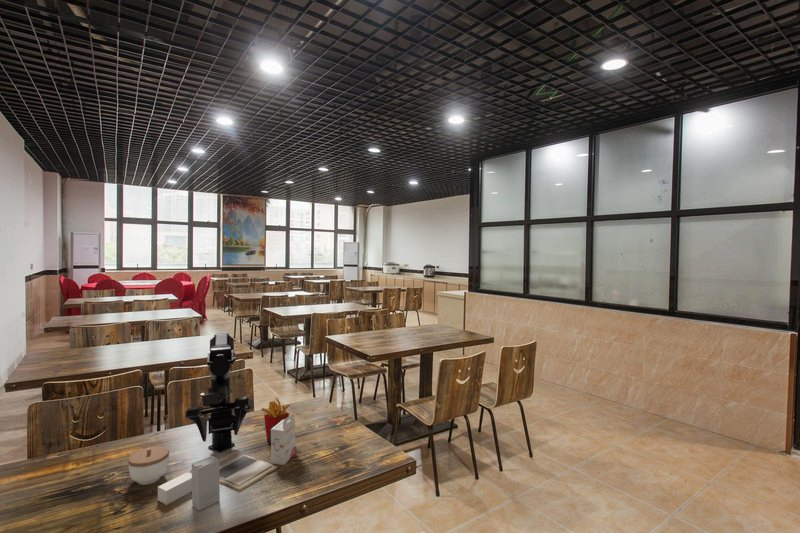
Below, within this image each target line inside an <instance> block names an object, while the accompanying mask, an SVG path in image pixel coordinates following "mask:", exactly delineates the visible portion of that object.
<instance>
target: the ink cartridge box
mask: <svg viewBox="0 0 800 533" xmlns="http://www.w3.org/2000/svg"><path fill="white" fill-rule="evenodd" d="M295 454H296V418H295V412H292V413H291V414H289V417H287V418H286V419H285V420H282V421H281V422H279V423H278V424H277V425H276V426H274V427H273V428H272V429H271V442H270V464H273V465H281V466H285V465H286V464H287V462H288V461H290V459H292V457H293V456H294V455H295Z"/></svg>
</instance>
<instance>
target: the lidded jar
mask: <svg viewBox="0 0 800 533" xmlns="http://www.w3.org/2000/svg"><path fill="white" fill-rule="evenodd" d="M169 455H170V450H169V448H167V447H164V446H151V447H150V446H149V447H146V448H143V449H139V450H137V451H135V452H133V453H132V454H131V455H130V456H129V457H128V458H127V462H128V472H129V475H130V477H131V479H132V480H133V481H135V482H136V483H137V484H138V485H143V486H144V485H146V486H147V485H150V484H154V483H156V482H158V481H159V480H160V479H161V477H162V476H163V475H164V474H165V472H166V471H167V468H168V464H169V458H170V457H169Z"/></svg>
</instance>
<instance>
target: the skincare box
mask: <svg viewBox="0 0 800 533" xmlns="http://www.w3.org/2000/svg"><path fill="white" fill-rule="evenodd" d="M191 470H192V491H191V505H192V506H193V507H194V508H195V509H196V510H197V511H198V512H199V511H201V510H204V509H205V508H208V507H210V506H212V505H214V504H216V503H218V502H220V499H221V498H220V497H221V496H220V492H221V491H220V483H219V458H216V457H215V456H213V455H211V456H208V457H205V458H203V459H201V460H198V461H194V462H191Z"/></svg>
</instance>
